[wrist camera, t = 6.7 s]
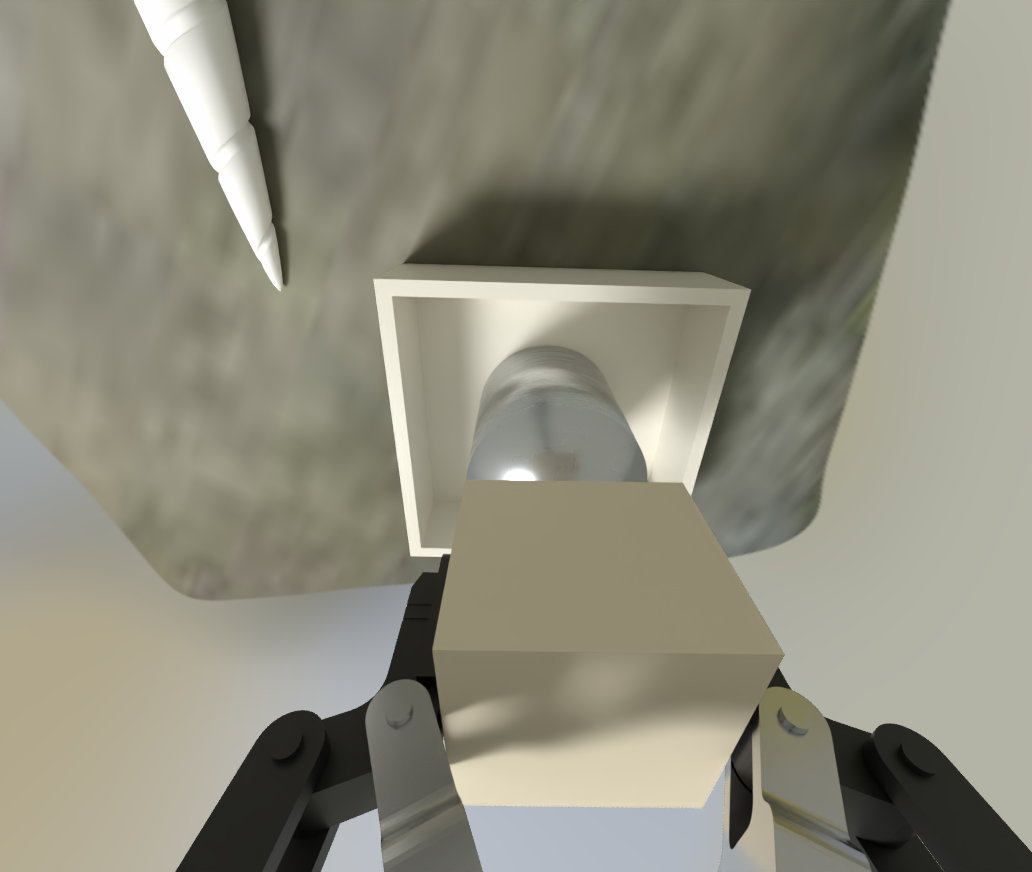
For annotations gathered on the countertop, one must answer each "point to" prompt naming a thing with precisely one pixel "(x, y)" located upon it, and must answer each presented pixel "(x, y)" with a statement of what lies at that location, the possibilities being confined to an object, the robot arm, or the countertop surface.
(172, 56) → the unicorn horn
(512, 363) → the tin can
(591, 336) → the box
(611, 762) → the carton
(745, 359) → the countertop surface
